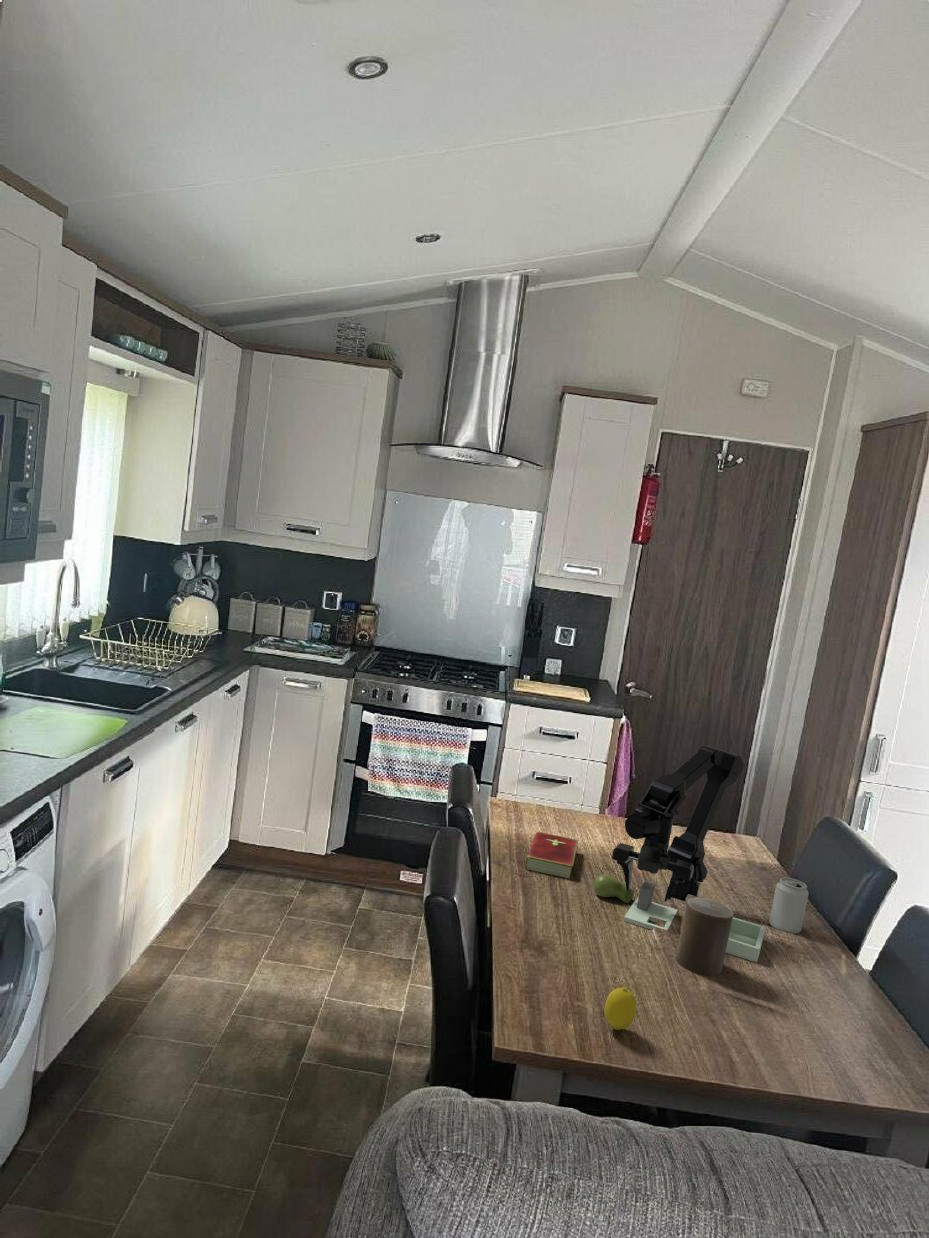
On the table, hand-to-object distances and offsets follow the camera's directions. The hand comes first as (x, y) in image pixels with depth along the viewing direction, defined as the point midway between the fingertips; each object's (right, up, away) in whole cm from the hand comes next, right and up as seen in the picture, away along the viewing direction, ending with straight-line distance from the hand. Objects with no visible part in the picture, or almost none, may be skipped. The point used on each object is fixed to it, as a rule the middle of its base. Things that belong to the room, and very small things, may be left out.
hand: (646, 895), depth 224 cm
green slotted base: (0, -4, -4) cm, 6 cm away
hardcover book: (-21, +2, +24) cm, 31 cm away
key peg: (+7, -6, -11) cm, 14 cm away
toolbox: (+18, -8, -13) cm, 23 cm away
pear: (-7, -2, +5) cm, 9 cm away
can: (+34, -9, +2) cm, 35 cm away
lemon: (-16, -8, -56) cm, 59 cm away
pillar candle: (+6, -8, -26) cm, 28 cm away
